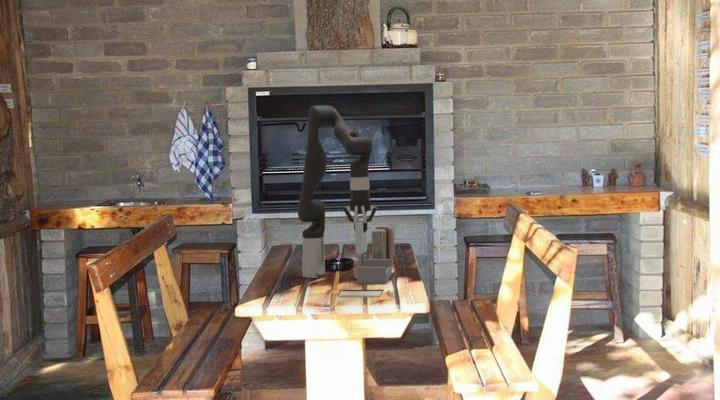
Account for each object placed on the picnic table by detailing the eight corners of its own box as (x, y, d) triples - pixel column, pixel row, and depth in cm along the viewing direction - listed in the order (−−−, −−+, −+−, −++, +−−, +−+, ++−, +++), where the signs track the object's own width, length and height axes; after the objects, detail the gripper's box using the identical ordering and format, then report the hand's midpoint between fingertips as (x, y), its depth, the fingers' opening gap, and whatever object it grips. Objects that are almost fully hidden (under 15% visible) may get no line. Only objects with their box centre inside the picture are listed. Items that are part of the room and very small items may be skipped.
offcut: (369, 276, 370) (369, 271, 370) (353, 274, 375) (353, 269, 374) (375, 274, 374) (375, 269, 374) (359, 272, 378) (359, 267, 378)
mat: (338, 296, 348) (338, 295, 348) (345, 288, 362) (344, 287, 362) (379, 297, 346) (379, 295, 346) (384, 289, 359) (384, 287, 359)
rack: (356, 286, 366) (356, 267, 365) (363, 277, 384) (363, 259, 383) (386, 286, 364) (385, 267, 363) (391, 277, 382) (391, 259, 381)
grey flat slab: (355, 254, 346) (354, 223, 345) (360, 248, 359) (360, 218, 357) (361, 254, 346) (361, 223, 344) (366, 248, 358) (366, 218, 357)
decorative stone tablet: (384, 229, 386) (396, 225, 415) (370, 228, 387) (382, 225, 417) (384, 273, 386) (396, 266, 416) (370, 273, 388) (382, 266, 417)
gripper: (340, 189, 347) (341, 233, 349) (376, 189, 345) (377, 233, 347) (343, 187, 354) (345, 231, 356) (378, 187, 352) (379, 230, 354)
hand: (360, 232), depth 351 cm, fingers closed on grey flat slab, 2 cm apart
